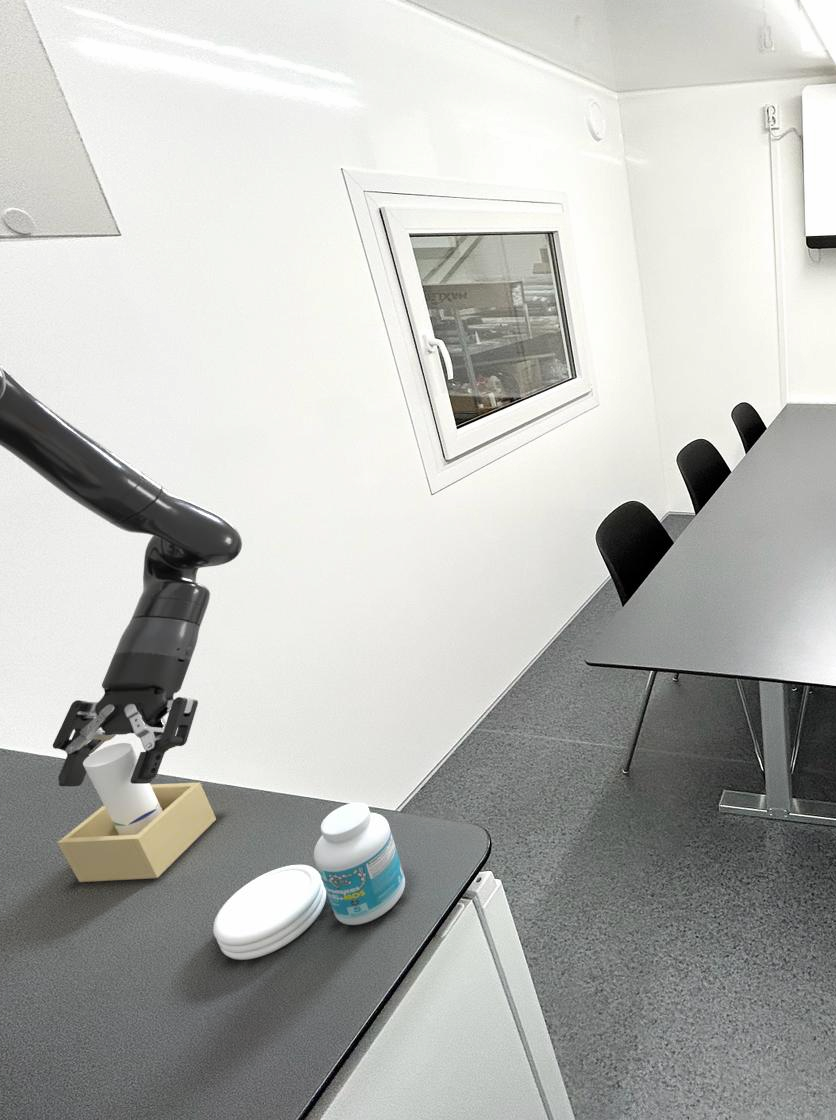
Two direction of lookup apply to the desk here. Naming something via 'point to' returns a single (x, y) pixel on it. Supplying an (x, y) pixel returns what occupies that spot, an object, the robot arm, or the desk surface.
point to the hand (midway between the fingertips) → (105, 784)
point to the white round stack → (269, 912)
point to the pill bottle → (358, 864)
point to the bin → (139, 837)
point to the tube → (122, 788)
